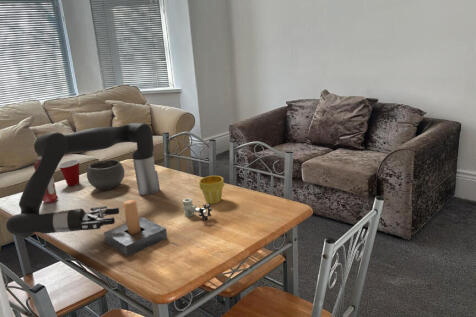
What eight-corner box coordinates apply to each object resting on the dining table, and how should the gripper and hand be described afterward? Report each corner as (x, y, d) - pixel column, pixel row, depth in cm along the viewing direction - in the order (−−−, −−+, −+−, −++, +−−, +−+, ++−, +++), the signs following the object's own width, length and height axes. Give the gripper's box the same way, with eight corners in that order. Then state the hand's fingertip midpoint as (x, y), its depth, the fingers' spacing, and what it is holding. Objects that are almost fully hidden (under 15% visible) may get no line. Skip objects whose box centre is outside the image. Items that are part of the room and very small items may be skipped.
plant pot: (211, 207, 174) (209, 185, 171) (196, 201, 182) (194, 180, 179) (230, 199, 180) (228, 178, 178) (215, 194, 188) (213, 173, 185)
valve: (179, 217, 168) (201, 223, 160) (177, 202, 166) (199, 207, 159) (191, 211, 173) (212, 217, 165) (189, 196, 171) (211, 201, 163)
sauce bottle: (47, 198, 201) (33, 142, 193) (61, 197, 201) (49, 141, 193) (39, 204, 194) (25, 146, 186) (55, 203, 194) (41, 145, 186)
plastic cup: (61, 183, 222) (57, 162, 219) (83, 179, 226) (78, 158, 222) (62, 189, 212) (57, 167, 209) (84, 185, 216) (80, 163, 213)
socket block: (143, 226, 162) (142, 217, 161) (167, 238, 151) (165, 228, 149) (105, 242, 152) (103, 232, 151) (127, 256, 140) (125, 245, 139)
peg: (138, 236, 154) (131, 198, 150) (144, 240, 151) (138, 201, 147) (127, 241, 151) (120, 202, 147) (133, 244, 148) (127, 205, 144)
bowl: (111, 179, 221) (107, 156, 218) (134, 184, 211) (130, 160, 207) (82, 191, 208) (77, 166, 204) (105, 196, 197) (100, 171, 194)
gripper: (61, 219, 139) (111, 213, 140) (73, 203, 152) (118, 198, 153) (66, 239, 141) (114, 234, 142) (77, 221, 154) (121, 216, 155)
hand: (116, 215), depth 148 cm, fingers open, 8 cm apart
